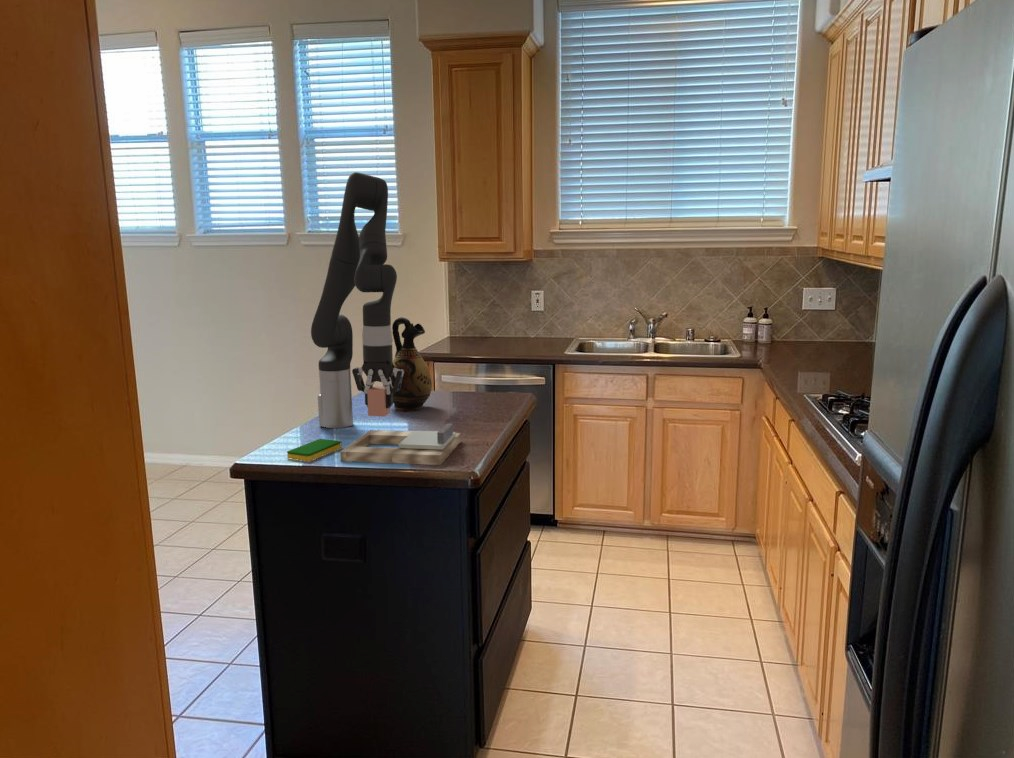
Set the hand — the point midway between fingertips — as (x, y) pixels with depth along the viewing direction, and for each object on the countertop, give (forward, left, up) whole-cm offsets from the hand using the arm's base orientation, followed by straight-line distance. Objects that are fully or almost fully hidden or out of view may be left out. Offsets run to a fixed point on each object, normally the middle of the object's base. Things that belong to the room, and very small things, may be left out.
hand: (379, 407), depth 196 cm
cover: (+13, 0, -9) cm, 16 cm away
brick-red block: (0, 0, -2) cm, 2 cm away
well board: (+6, 0, -12) cm, 13 cm away
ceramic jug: (-8, +51, -12) cm, 53 cm away
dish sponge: (-16, -5, -12) cm, 21 cm away
